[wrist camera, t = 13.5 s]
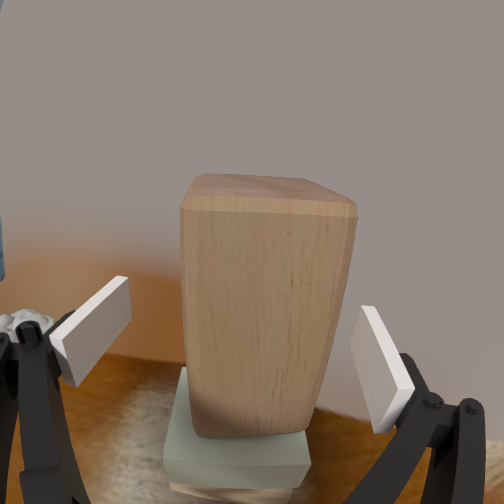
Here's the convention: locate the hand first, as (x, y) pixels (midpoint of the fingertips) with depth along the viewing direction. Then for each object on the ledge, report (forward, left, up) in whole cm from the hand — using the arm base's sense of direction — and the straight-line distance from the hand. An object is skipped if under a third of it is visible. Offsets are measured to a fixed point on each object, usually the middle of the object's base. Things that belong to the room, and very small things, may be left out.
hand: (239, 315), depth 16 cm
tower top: (0, +5, -19) cm, 19 cm away
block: (+1, +6, -14) cm, 15 cm away
